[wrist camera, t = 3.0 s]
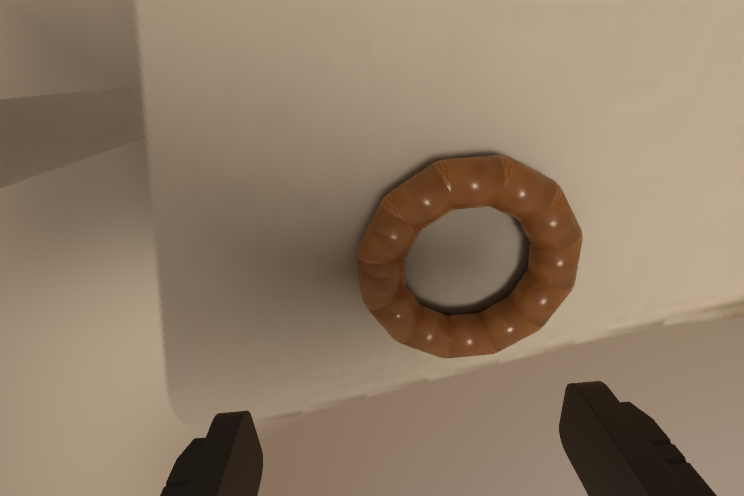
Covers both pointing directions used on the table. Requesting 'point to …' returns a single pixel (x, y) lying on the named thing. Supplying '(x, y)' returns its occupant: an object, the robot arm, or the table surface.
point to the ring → (458, 191)
